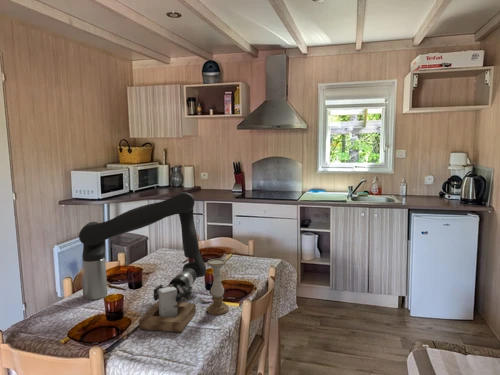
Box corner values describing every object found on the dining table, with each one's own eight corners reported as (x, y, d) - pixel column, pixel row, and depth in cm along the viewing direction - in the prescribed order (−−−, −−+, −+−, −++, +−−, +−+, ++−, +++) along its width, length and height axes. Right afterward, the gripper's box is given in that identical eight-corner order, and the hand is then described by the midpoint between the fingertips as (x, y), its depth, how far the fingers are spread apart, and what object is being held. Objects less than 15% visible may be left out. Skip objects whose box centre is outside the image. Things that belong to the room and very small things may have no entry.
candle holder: (232, 307, 152) (230, 259, 150) (223, 316, 144) (222, 265, 142) (212, 304, 155) (211, 257, 153) (203, 313, 147) (201, 263, 145)
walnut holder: (139, 329, 134) (138, 319, 134) (158, 310, 150) (157, 301, 150) (181, 333, 131) (180, 322, 131) (195, 313, 147) (195, 303, 147)
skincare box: (163, 324, 137) (161, 292, 136) (158, 319, 141) (157, 289, 140) (178, 319, 141) (177, 289, 139) (174, 315, 144) (172, 285, 143)
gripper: (165, 273, 154) (147, 288, 139) (197, 275, 152) (183, 290, 136) (165, 290, 155) (148, 307, 139) (198, 292, 153) (184, 309, 137)
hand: (165, 299), depth 138 cm, fingers open, 8 cm apart
